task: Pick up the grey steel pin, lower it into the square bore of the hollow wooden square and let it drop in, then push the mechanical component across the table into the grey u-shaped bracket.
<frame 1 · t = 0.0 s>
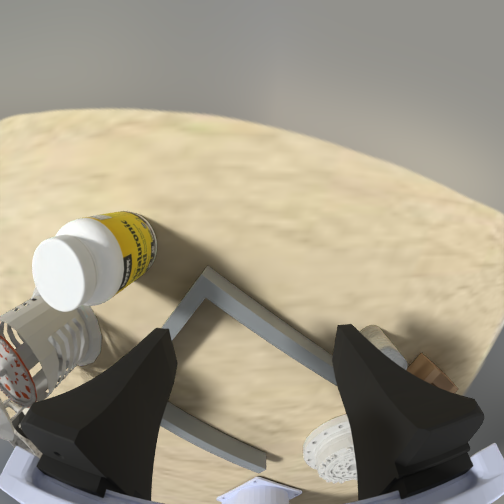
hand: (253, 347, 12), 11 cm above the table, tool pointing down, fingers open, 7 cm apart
supplement bottle: (129, 243, 22), on the table
french press: (62, 330, 24), on the table
pin: (369, 337, 23), on the table
mug: (33, 412, 28), on the table
grey u-shaped bracket: (238, 386, 24), on the table
mechanical component: (345, 438, 26), on the table
hollow wooden square: (415, 385, 24), on the table
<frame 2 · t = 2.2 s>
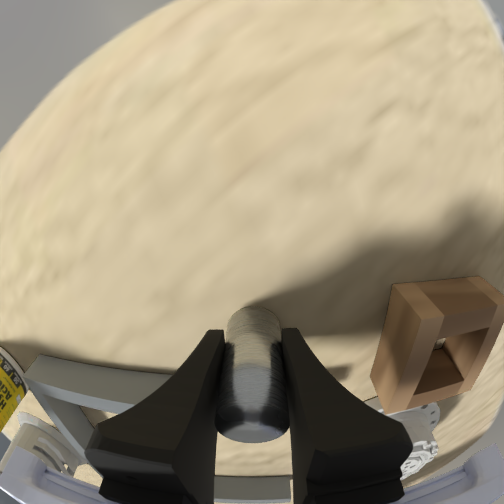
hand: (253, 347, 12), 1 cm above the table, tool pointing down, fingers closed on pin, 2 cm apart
supplement bottle: (9, 364, 16), on the table
french press: (56, 443, 21), on the table
pin: (253, 328, 13), on the table, touching gripper
grey u-shaped bracket: (176, 441, 17), on the table
mechanical component: (375, 427, 17), on the table
hollow wooden square: (427, 328, 13), on the table
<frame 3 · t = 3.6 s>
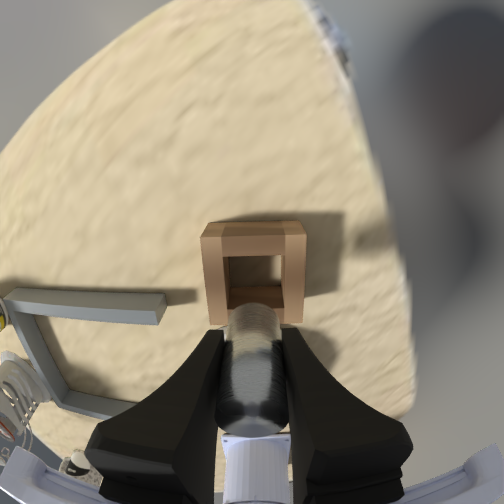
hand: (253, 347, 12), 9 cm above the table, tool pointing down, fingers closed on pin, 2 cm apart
french press: (28, 381, 28), on the table
pin: (253, 324, 13), point 7 cm above the table, touching gripper
mug: (84, 456, 35), on the table
grey u-shaped bracket: (100, 358, 24), on the table
hollow wooden square: (255, 263, 20), on the table
when the fingers open (3 cm above the table, at t = 5.1 s): pin drops 2 cm, resting in hollow wooden square.
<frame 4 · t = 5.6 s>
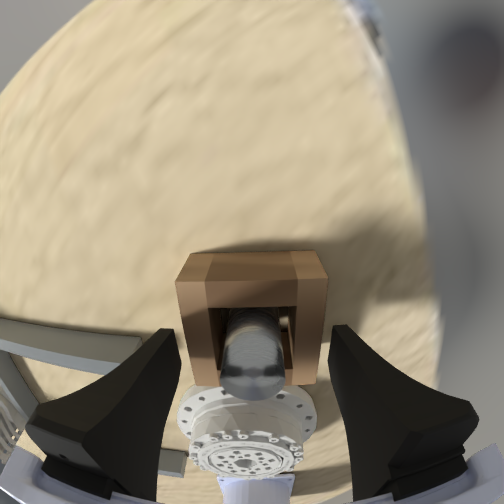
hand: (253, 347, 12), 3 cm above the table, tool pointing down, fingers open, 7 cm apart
french press: (11, 406, 23), on the table
pin: (254, 304, 15), resting in hollow wooden square
grey u-shaped bracket: (78, 397, 19), on the table
mechanical component: (247, 412, 19), on the table
hollow wooden square: (254, 305, 15), on the table
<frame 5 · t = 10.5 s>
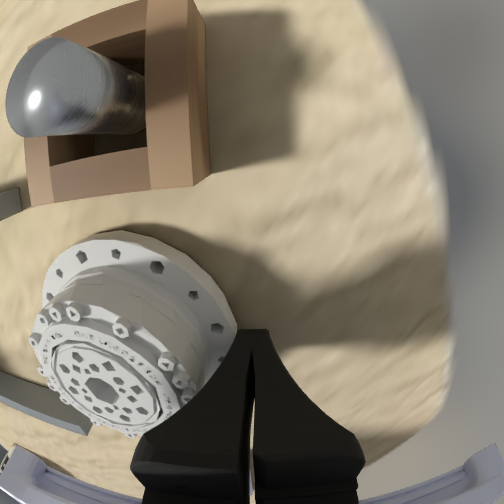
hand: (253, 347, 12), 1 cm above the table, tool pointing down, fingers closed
pin: (130, 104, 9), resting in hollow wooden square
mug: (25, 453, 25), on the table
mechanical component: (138, 324, 13), on the table, touching gripper
hollow wooden square: (130, 106, 9), on the table
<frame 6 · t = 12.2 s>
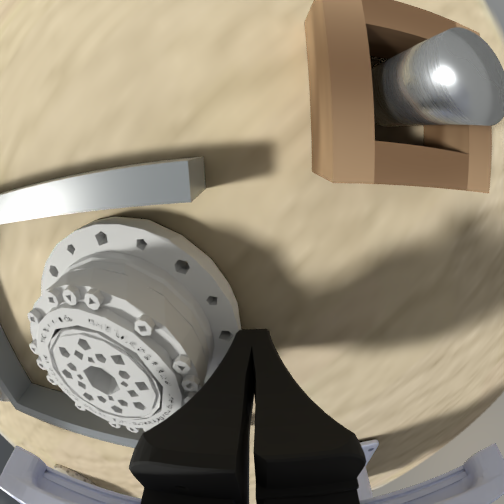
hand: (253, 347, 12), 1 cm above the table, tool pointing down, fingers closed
pin: (385, 97, 9), resting in hollow wooden square
mug: (68, 473, 24), on the table
grey u-shaped bracket: (68, 325, 13), on the table
mechanical component: (139, 314, 13), on the table, touching gripper
hollow wooden square: (385, 99, 9), on the table
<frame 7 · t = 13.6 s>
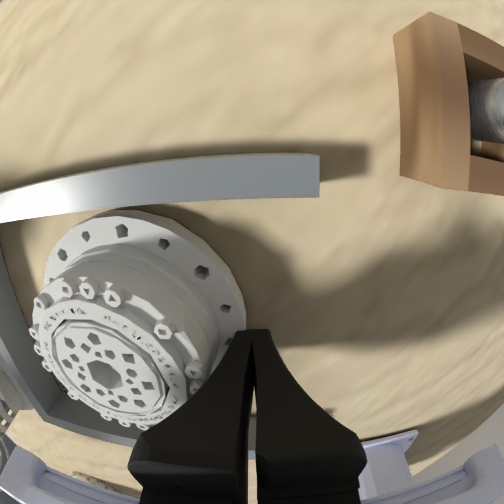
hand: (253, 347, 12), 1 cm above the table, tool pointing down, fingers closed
french press: (2, 378, 16), on the table
pin: (455, 112, 9), resting in hollow wooden square
mug: (87, 480, 24), on the table
grey u-shaped bracket: (121, 329, 13), on the table
mechanical component: (143, 309, 13), on the table
hollow wooden square: (455, 114, 9), on the table
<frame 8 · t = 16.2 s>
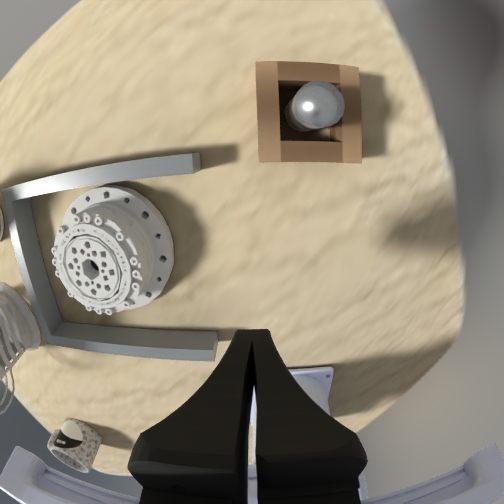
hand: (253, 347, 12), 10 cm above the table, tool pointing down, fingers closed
french press: (16, 323, 25), on the table
pin: (302, 114, 17), resting in hollow wooden square
mug: (77, 428, 33), on the table
grey u-shaped bracket: (106, 261, 21), on the table
mechanical component: (118, 245, 21), on the table
hollow wooden square: (302, 115, 17), on the table
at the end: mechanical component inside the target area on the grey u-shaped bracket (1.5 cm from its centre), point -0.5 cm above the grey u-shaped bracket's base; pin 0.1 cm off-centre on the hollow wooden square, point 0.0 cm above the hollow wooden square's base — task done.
